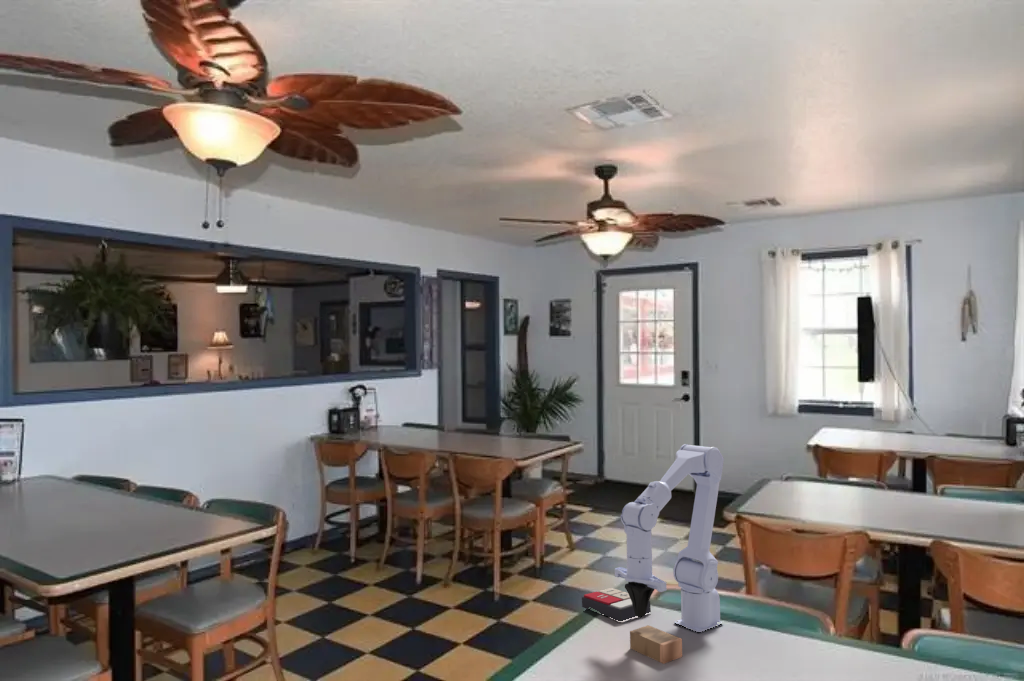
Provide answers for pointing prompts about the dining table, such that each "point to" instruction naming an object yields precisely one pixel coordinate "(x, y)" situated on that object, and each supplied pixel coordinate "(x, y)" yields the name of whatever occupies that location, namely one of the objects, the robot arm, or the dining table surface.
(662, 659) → the walnut block
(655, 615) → the dining table surface
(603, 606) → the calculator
